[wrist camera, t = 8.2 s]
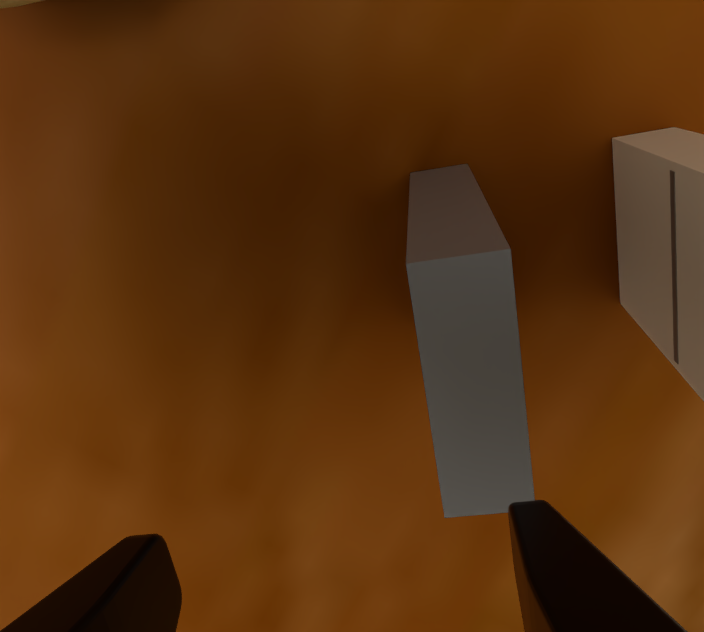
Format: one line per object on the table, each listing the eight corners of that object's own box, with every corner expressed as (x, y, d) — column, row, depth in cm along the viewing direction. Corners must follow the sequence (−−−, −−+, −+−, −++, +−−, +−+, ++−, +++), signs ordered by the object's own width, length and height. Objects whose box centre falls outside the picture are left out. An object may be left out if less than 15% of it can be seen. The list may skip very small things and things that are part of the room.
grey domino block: (468, 163, 18) (512, 247, 10) (486, 322, 20) (537, 510, 12) (409, 172, 19) (404, 263, 10) (431, 329, 20) (443, 518, 12)
